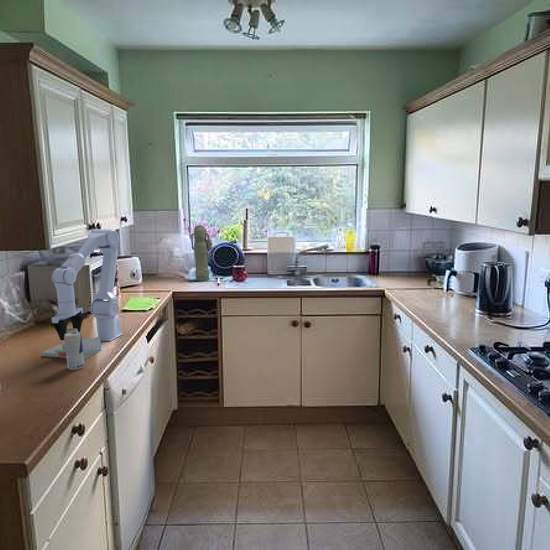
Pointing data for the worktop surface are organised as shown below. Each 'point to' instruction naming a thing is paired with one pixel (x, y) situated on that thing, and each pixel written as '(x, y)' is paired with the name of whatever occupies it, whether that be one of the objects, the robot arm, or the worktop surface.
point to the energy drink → (74, 350)
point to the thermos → (201, 253)
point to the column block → (68, 332)
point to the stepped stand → (88, 345)
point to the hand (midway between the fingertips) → (70, 336)
